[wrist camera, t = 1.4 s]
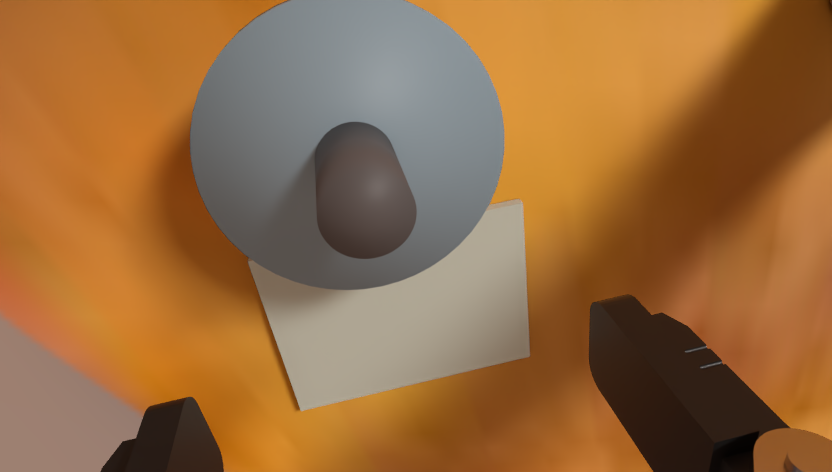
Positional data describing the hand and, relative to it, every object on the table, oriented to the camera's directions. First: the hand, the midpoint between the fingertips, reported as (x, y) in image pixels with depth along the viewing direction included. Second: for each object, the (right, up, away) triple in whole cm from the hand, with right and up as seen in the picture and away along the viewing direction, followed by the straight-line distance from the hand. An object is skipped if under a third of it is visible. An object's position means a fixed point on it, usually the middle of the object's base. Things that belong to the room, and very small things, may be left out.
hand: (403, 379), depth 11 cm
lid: (-2, +6, +12) cm, 13 cm away
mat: (-1, -2, +23) cm, 23 cm away
